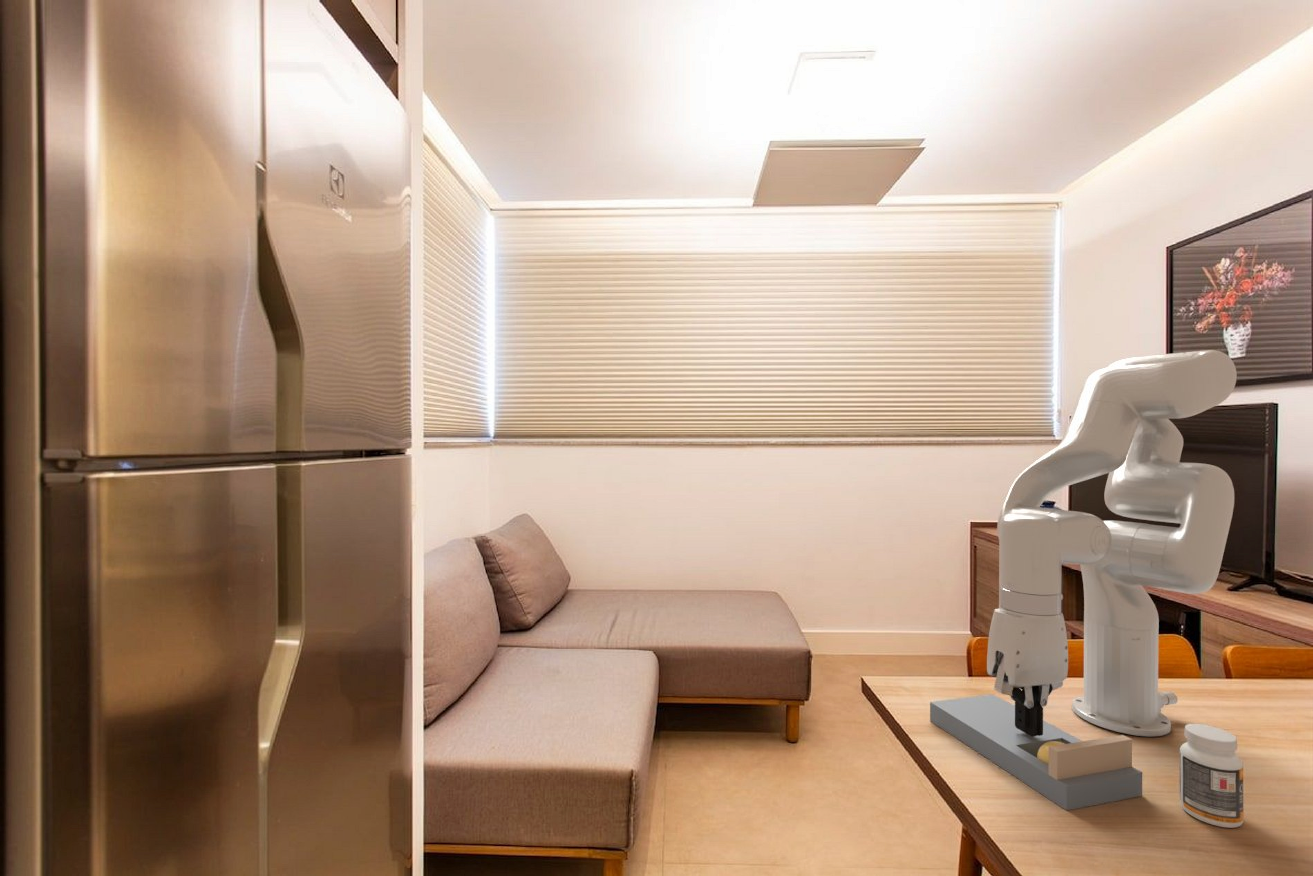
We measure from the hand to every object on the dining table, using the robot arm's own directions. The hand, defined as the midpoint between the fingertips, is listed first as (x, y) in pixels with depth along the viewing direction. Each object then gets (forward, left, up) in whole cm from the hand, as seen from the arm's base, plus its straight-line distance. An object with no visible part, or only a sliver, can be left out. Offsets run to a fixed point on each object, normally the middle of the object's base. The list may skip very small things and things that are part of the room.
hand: (1028, 731), depth 86 cm
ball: (+1, +6, -1) cm, 6 cm away
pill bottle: (-10, +16, -4) cm, 19 cm away
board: (0, -1, -4) cm, 4 cm away
